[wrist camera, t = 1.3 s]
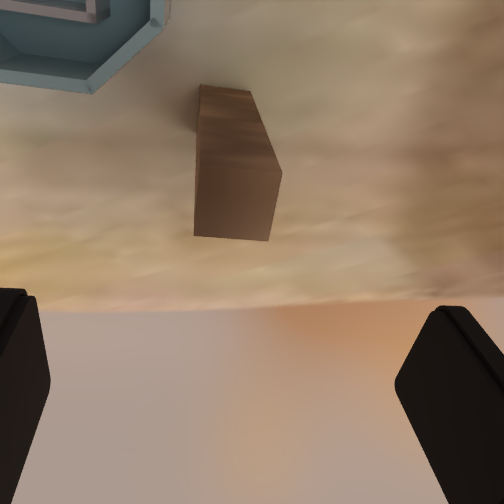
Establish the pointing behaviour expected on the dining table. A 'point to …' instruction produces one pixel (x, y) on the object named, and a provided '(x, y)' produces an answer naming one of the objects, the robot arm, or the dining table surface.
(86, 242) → the dining table surface
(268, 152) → the wood grain block
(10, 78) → the octagonal socket dish
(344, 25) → the dining table surface
